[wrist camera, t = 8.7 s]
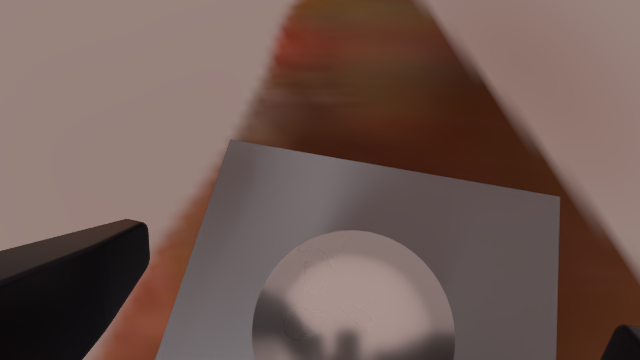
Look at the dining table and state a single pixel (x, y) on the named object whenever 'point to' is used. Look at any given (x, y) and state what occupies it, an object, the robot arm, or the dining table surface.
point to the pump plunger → (352, 303)
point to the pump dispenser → (380, 218)
